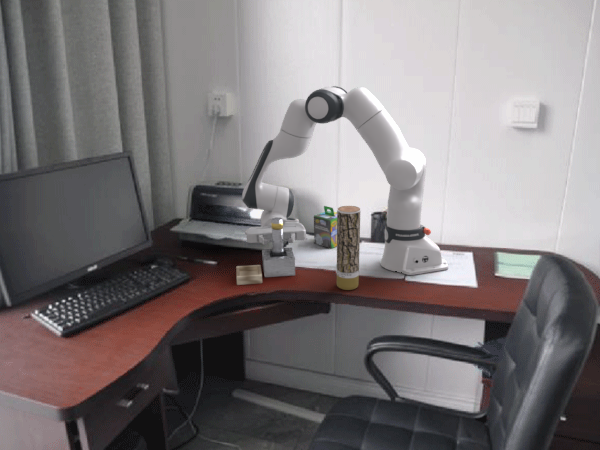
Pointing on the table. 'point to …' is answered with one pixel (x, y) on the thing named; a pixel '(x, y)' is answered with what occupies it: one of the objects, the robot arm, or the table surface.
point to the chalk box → (326, 228)
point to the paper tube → (348, 247)
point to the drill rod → (277, 237)
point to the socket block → (278, 263)
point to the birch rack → (249, 274)
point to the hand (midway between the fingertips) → (278, 241)
